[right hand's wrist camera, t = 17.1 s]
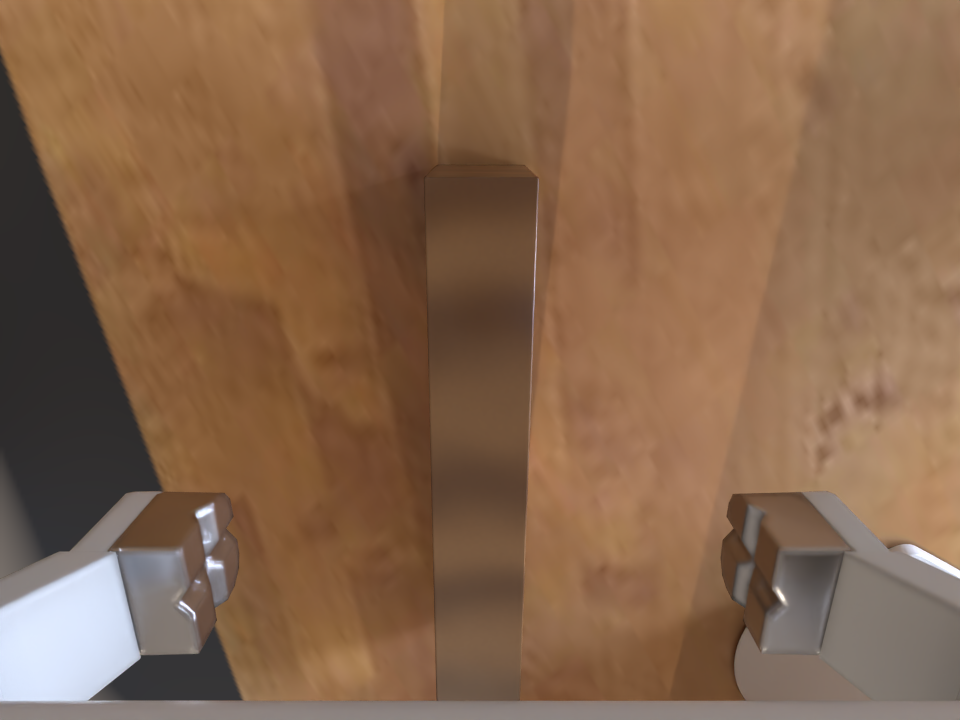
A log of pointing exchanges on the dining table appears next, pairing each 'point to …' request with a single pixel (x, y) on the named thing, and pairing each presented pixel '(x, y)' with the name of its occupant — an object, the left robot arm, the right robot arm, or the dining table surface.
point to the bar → (480, 419)
